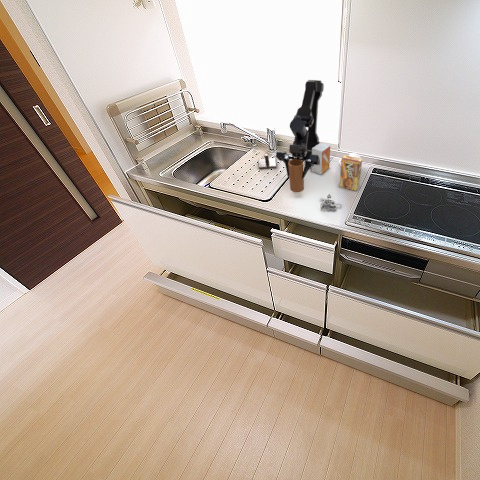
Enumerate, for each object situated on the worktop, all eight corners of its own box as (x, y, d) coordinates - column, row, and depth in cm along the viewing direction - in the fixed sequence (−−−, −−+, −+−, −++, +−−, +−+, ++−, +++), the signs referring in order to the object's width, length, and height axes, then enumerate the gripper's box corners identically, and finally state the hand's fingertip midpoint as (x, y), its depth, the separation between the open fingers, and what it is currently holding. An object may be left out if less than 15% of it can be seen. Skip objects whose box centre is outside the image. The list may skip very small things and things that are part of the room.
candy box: (358, 186, 129) (362, 158, 118) (356, 191, 126) (360, 162, 115) (341, 182, 131) (344, 154, 120) (339, 187, 128) (341, 158, 117)
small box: (321, 175, 136) (322, 151, 126) (311, 171, 138) (311, 148, 129) (329, 168, 141) (330, 145, 131) (319, 165, 143) (320, 142, 134)
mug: (362, 168, 141) (364, 154, 136) (358, 176, 135) (360, 163, 129) (340, 164, 144) (341, 150, 138) (336, 173, 137) (337, 159, 132)
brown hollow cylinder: (303, 184, 121) (302, 158, 112) (304, 191, 117) (303, 165, 108) (289, 185, 121) (287, 159, 111) (291, 193, 116) (288, 167, 107)
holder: (275, 159, 146) (274, 150, 142) (276, 168, 140) (275, 158, 136) (259, 161, 145) (257, 151, 141) (259, 169, 139) (257, 159, 135)
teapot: (340, 200, 121) (341, 186, 115) (340, 212, 115) (341, 198, 109) (321, 199, 121) (321, 185, 116) (320, 211, 115) (320, 197, 110)
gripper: (274, 132, 106) (269, 170, 106) (319, 136, 104) (313, 175, 104) (281, 142, 117) (277, 176, 117) (322, 146, 115) (317, 181, 115)
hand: (295, 177), depth 113 cm, fingers closed on brown hollow cylinder, 6 cm apart
